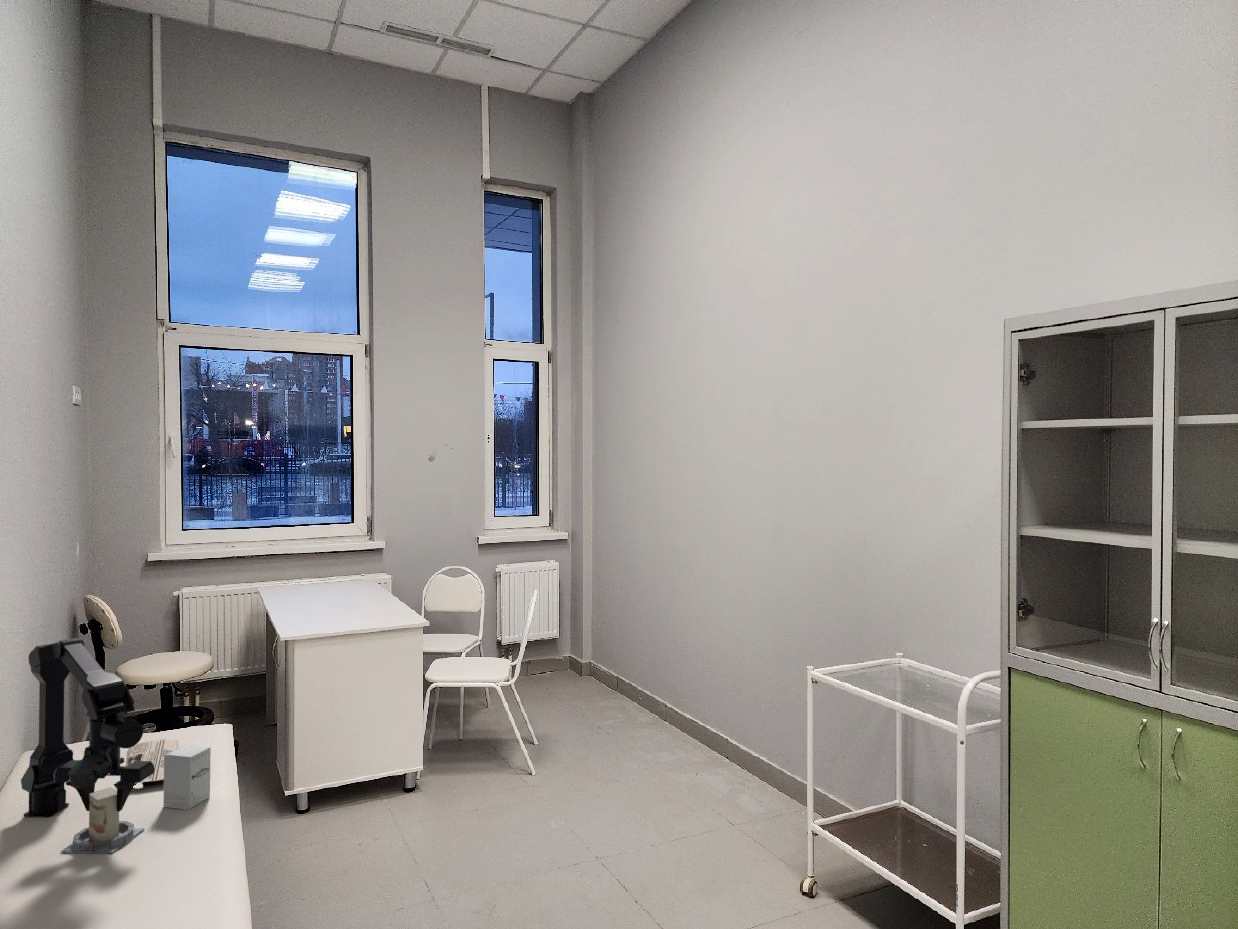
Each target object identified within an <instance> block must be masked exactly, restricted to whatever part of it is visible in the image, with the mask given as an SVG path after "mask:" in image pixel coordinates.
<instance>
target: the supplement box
mask: <svg viewBox="0 0 1238 929" xmlns="http://www.w3.org/2000/svg"><path fill="white" fill-rule="evenodd" d="M211 748H212V747H211V746H201V745H187V744H185V745H183V746H181V747H179V748H177V750H175V751H173V752H171V753H168V754H166V755H164V785H163V800H162V801H163V802H162V803H163V804H162V805H163V807H164V808H170V809H176V810H177V809H178V810H191V809H192V808H194V807H195V806H197V805H198V804H200V803H202V802H204V801H205V800H208V799H209V798H210V797H211V753H212V752H211V751H212V750H211Z"/></svg>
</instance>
